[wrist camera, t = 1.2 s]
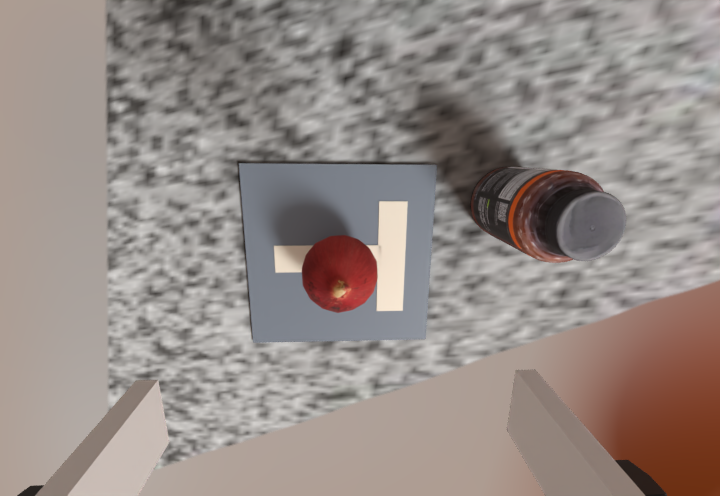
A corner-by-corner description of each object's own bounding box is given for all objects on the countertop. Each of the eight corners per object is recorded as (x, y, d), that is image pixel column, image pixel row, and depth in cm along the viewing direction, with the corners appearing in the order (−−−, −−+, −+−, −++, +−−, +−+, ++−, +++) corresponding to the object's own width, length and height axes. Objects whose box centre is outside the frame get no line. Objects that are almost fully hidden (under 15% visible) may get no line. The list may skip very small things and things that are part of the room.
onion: (361, 297, 32) (367, 344, 24) (298, 280, 31) (284, 323, 23) (382, 237, 30) (396, 266, 22) (316, 217, 29) (308, 241, 22)
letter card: (239, 163, 28) (238, 163, 28) (435, 164, 29) (437, 164, 29) (254, 340, 33) (253, 342, 32) (424, 337, 33) (425, 339, 33)
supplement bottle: (545, 215, 31) (657, 250, 20) (483, 246, 31) (560, 297, 20) (522, 152, 29) (630, 153, 18) (457, 186, 30) (525, 207, 19)
